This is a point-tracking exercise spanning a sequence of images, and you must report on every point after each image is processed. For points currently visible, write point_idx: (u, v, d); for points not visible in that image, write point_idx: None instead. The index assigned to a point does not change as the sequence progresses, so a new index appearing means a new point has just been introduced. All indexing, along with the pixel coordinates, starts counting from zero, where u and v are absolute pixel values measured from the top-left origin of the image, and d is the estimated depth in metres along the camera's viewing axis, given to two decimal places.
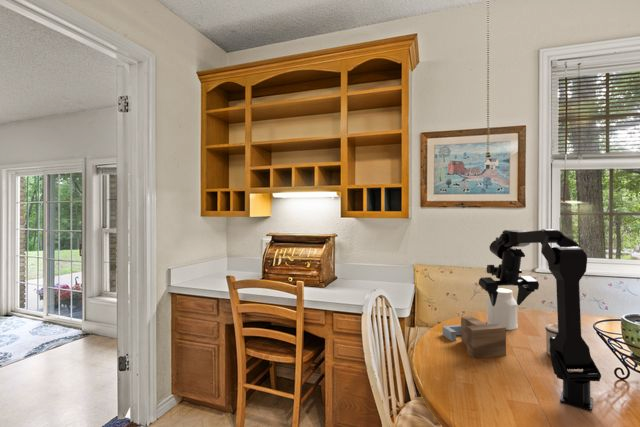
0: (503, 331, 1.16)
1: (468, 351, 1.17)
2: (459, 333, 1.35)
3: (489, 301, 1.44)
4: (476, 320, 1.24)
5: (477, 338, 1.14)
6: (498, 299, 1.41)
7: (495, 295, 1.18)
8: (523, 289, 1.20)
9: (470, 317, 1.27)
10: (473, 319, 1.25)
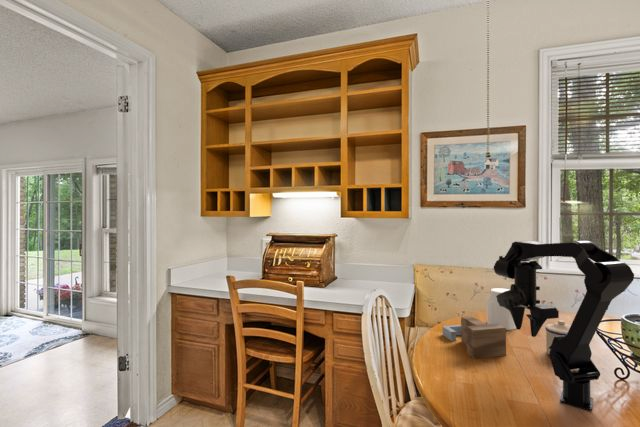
0: (503, 331, 1.16)
1: (468, 351, 1.17)
2: (459, 333, 1.35)
3: (489, 301, 1.44)
4: (476, 320, 1.24)
5: (477, 338, 1.14)
6: None
7: None
8: (519, 308, 1.08)
9: (470, 317, 1.27)
10: (473, 319, 1.25)
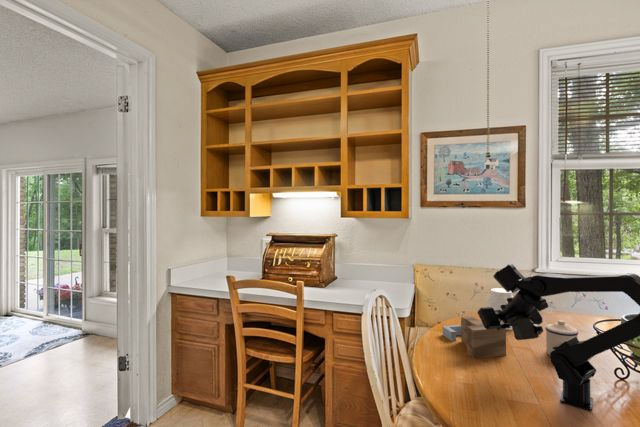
0: (503, 331, 1.16)
1: (468, 351, 1.17)
2: (459, 333, 1.35)
3: (489, 301, 1.44)
4: (476, 320, 1.24)
5: (477, 338, 1.14)
6: (498, 299, 1.41)
7: None
8: None
9: (470, 317, 1.27)
10: (473, 319, 1.25)
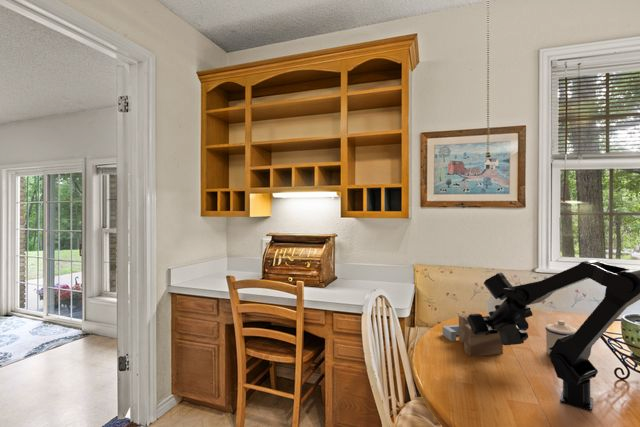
0: None
1: (465, 349, 1.19)
2: None
3: (489, 301, 1.44)
4: None
5: (474, 336, 1.16)
6: (498, 299, 1.41)
7: None
8: None
9: None
10: None
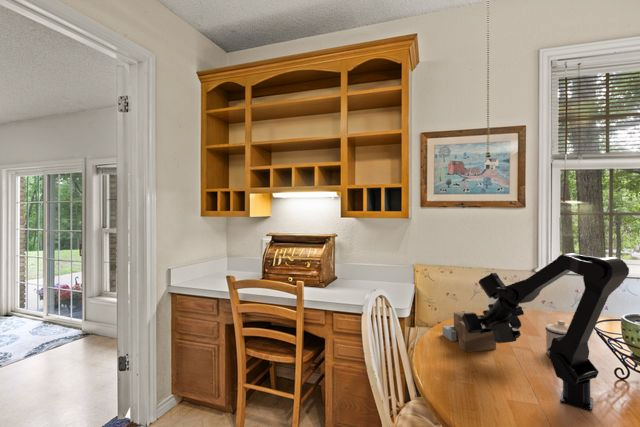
0: None
1: (460, 345, 1.23)
2: None
3: (489, 301, 1.44)
4: None
5: (468, 332, 1.20)
6: None
7: None
8: None
9: (462, 313, 1.33)
10: None
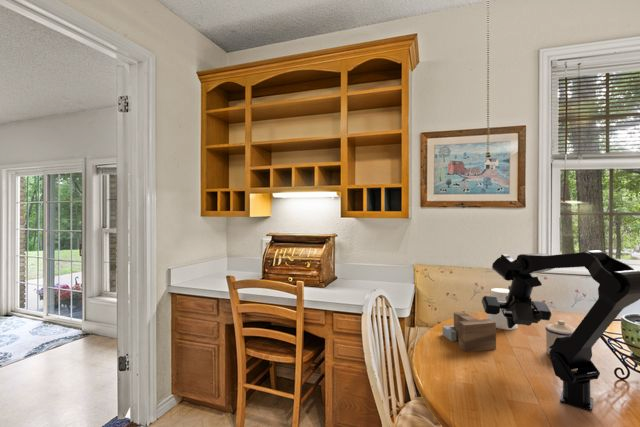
0: (493, 325, 1.21)
1: (460, 345, 1.23)
2: None
3: None
4: (468, 316, 1.29)
5: (468, 332, 1.20)
6: (498, 299, 1.41)
7: None
8: None
9: (462, 313, 1.33)
10: (465, 315, 1.30)
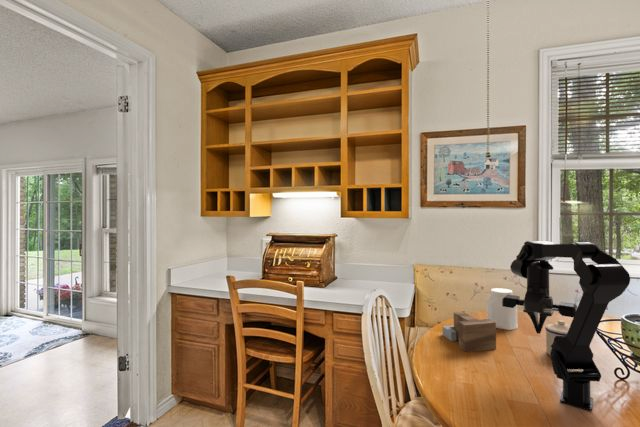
0: (493, 325, 1.21)
1: (460, 345, 1.23)
2: None
3: (489, 301, 1.44)
4: (468, 316, 1.29)
5: (468, 332, 1.20)
6: (498, 299, 1.41)
7: None
8: None
9: (462, 313, 1.33)
10: (465, 315, 1.30)
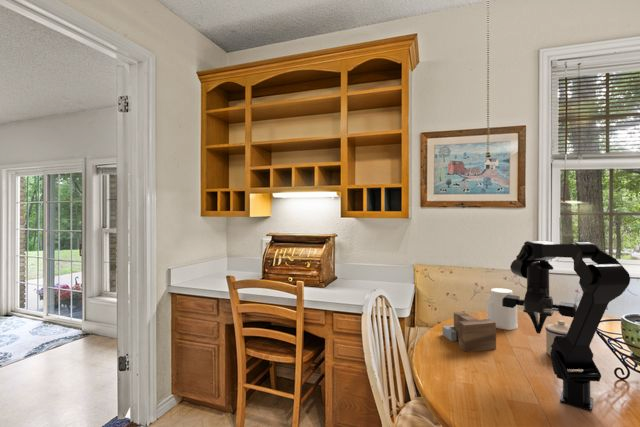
0: (493, 325, 1.21)
1: (460, 345, 1.23)
2: None
3: (489, 301, 1.44)
4: (468, 316, 1.29)
5: (468, 332, 1.20)
6: (498, 299, 1.41)
7: None
8: None
9: (462, 313, 1.33)
10: (465, 315, 1.30)
